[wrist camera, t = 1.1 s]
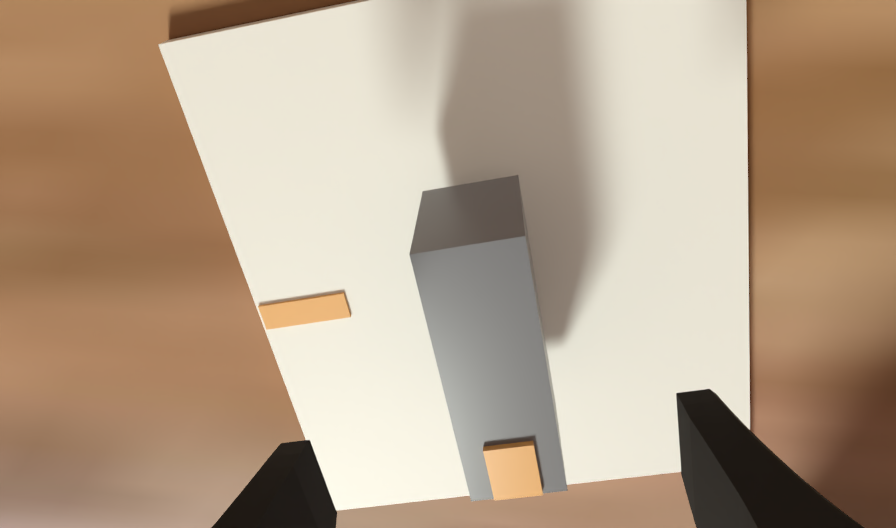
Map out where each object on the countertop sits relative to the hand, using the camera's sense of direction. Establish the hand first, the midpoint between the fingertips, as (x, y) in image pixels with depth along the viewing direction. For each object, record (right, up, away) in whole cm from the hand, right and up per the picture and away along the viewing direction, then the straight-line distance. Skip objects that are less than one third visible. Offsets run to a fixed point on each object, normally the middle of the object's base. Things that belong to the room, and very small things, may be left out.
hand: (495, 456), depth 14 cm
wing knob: (0, +3, +6) cm, 7 cm away
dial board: (0, +4, +7) cm, 8 cm away
